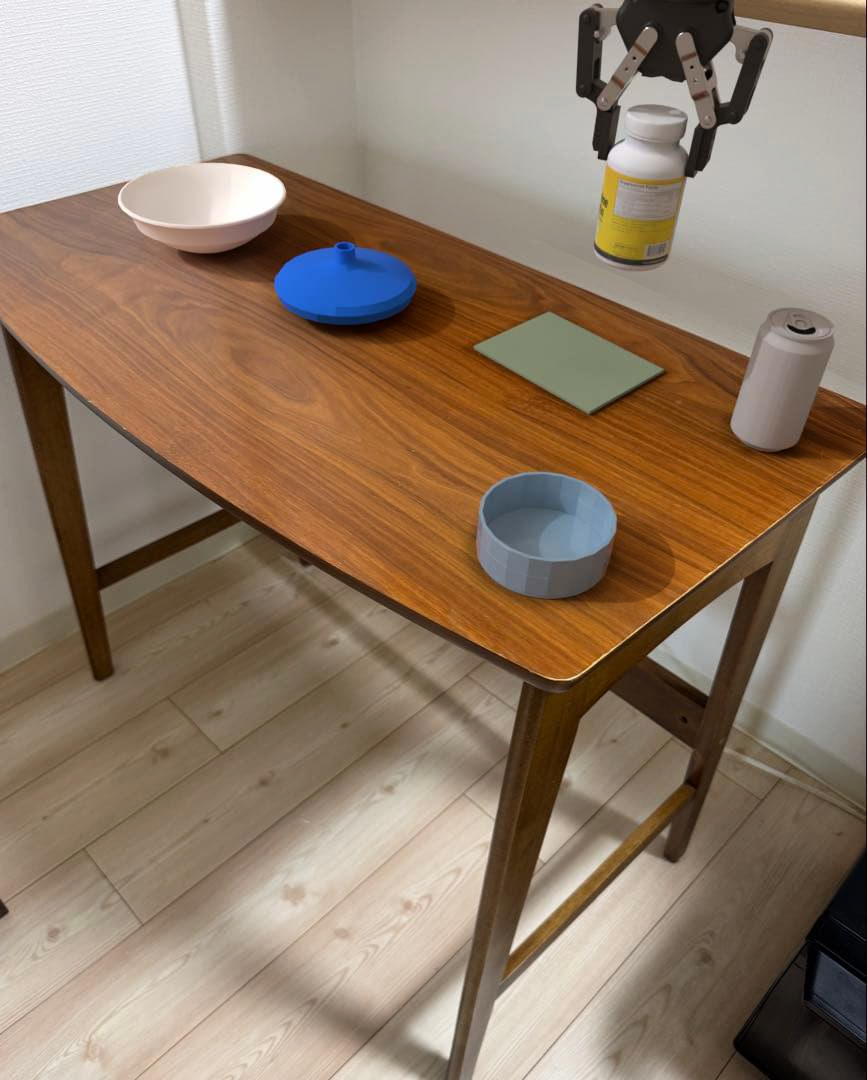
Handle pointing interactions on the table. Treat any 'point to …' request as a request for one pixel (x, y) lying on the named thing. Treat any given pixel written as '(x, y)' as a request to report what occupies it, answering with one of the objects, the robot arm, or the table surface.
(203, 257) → the table surface
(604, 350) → the mat
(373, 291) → the vase
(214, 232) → the bowl
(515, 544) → the grey-blue round dish
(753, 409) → the beverage can
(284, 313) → the table surface
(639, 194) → the pill bottle
